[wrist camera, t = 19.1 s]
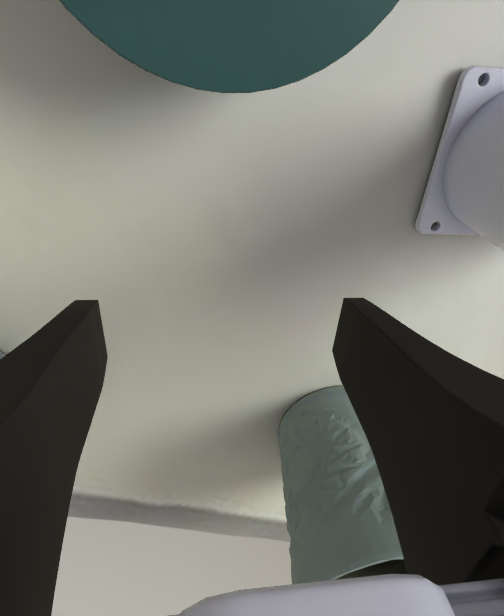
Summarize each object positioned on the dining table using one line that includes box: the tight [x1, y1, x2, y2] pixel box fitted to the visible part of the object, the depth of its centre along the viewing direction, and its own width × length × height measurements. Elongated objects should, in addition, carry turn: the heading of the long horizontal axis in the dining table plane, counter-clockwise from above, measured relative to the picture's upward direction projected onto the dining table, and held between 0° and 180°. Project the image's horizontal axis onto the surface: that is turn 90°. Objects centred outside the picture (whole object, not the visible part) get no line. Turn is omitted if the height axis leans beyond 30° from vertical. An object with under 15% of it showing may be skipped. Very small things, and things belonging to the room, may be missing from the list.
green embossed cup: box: [279, 386, 407, 584], centre depth 26 cm, size 10×10×12 cm
